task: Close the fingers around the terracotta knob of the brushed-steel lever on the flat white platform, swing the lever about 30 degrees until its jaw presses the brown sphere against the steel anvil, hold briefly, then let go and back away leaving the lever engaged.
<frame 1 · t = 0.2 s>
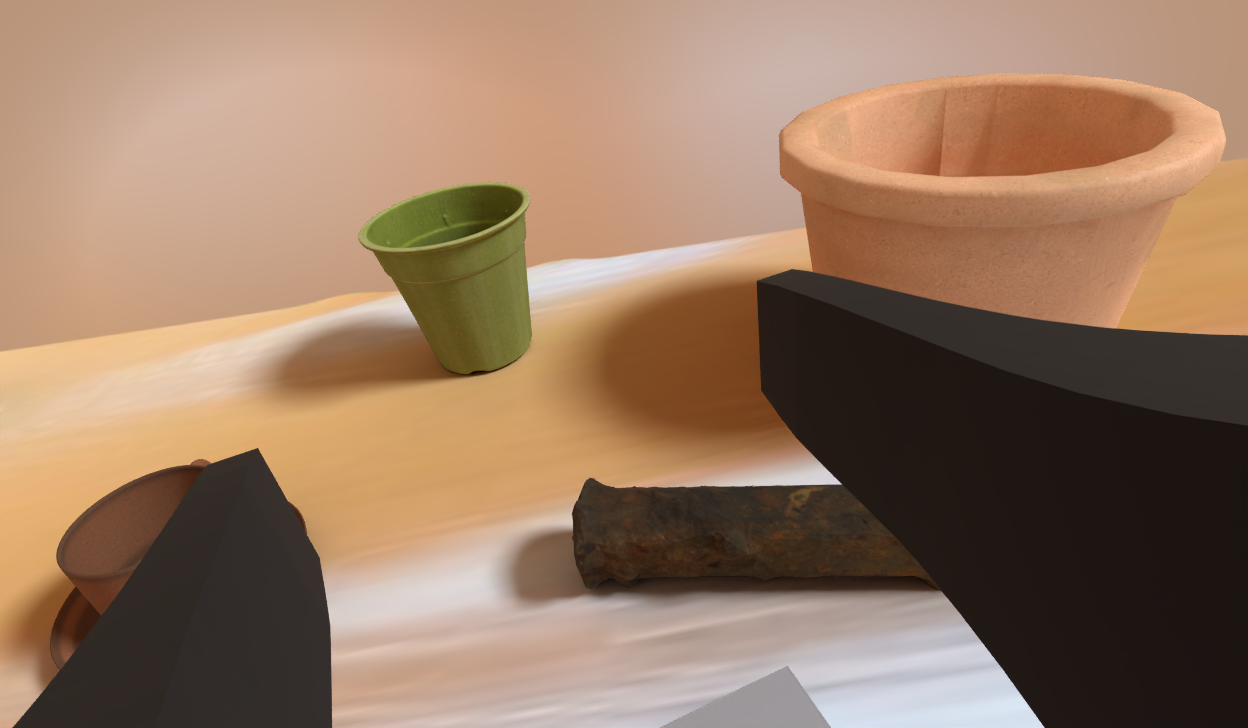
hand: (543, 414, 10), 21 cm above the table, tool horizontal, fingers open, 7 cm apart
pottery: (951, 343, 48), on the table
cup and saucer: (203, 602, 38), on the table
plant pot: (485, 353, 55), on the table
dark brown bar: (819, 559, 34), on the table
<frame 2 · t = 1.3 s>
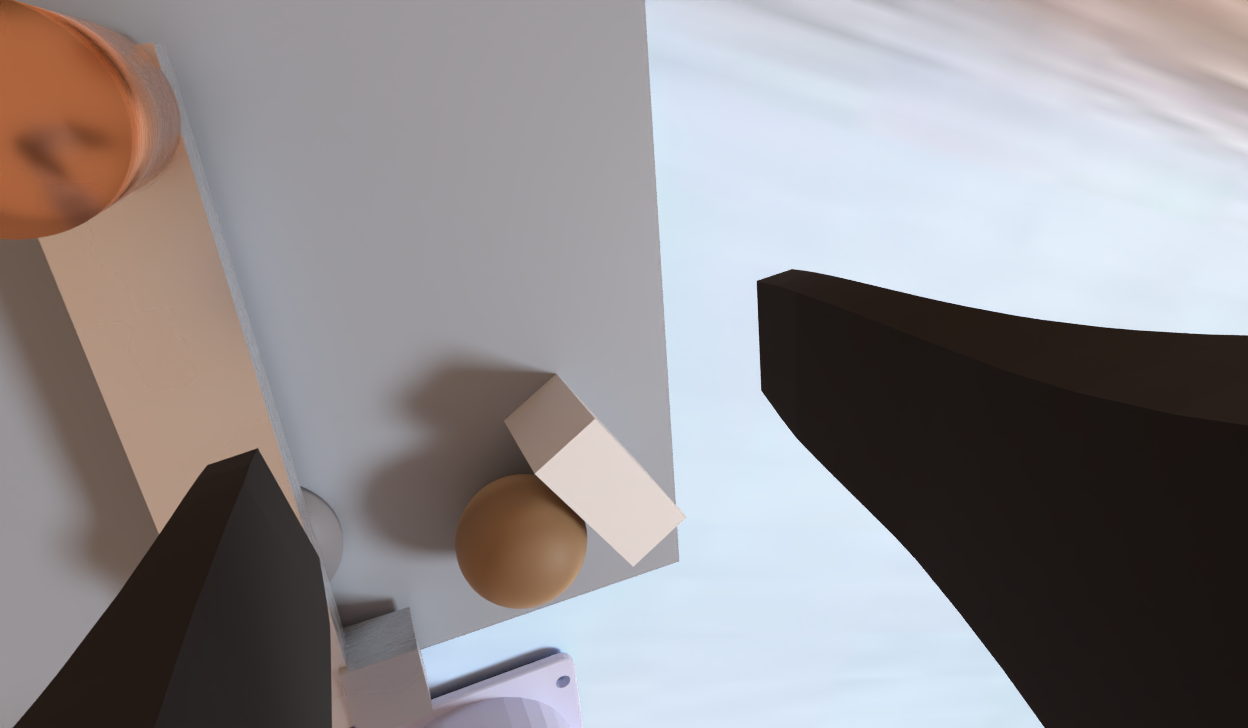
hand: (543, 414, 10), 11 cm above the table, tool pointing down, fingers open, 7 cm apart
brown sphere: (497, 487, 22), resting on flat white platform
lever: (248, 487, 15), point 5 cm above the table, hinge at 0.0°
flat white platform: (263, 523, 20), on the table
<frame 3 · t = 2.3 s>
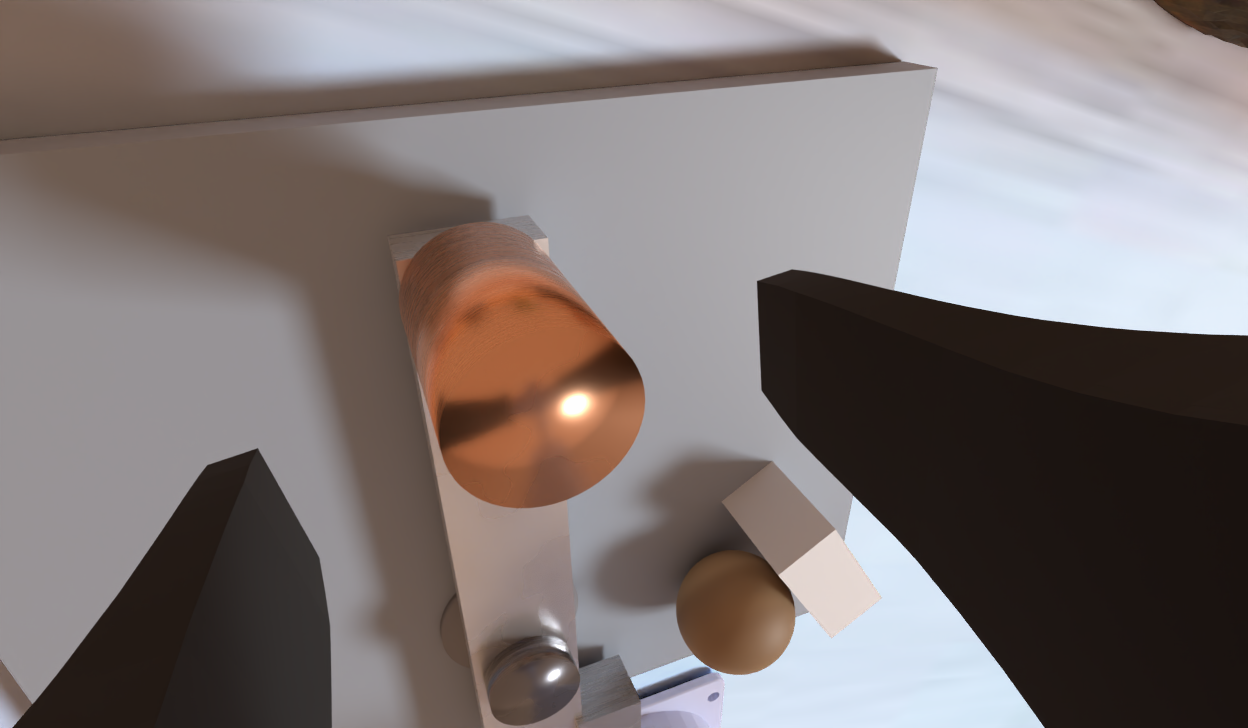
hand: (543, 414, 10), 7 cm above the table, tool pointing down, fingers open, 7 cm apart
brown sphere: (691, 544, 24), resting on flat white platform
lever: (567, 607, 17), point 5 cm above the table, hinge at 0.0°
flat white platform: (500, 583, 22), on the table
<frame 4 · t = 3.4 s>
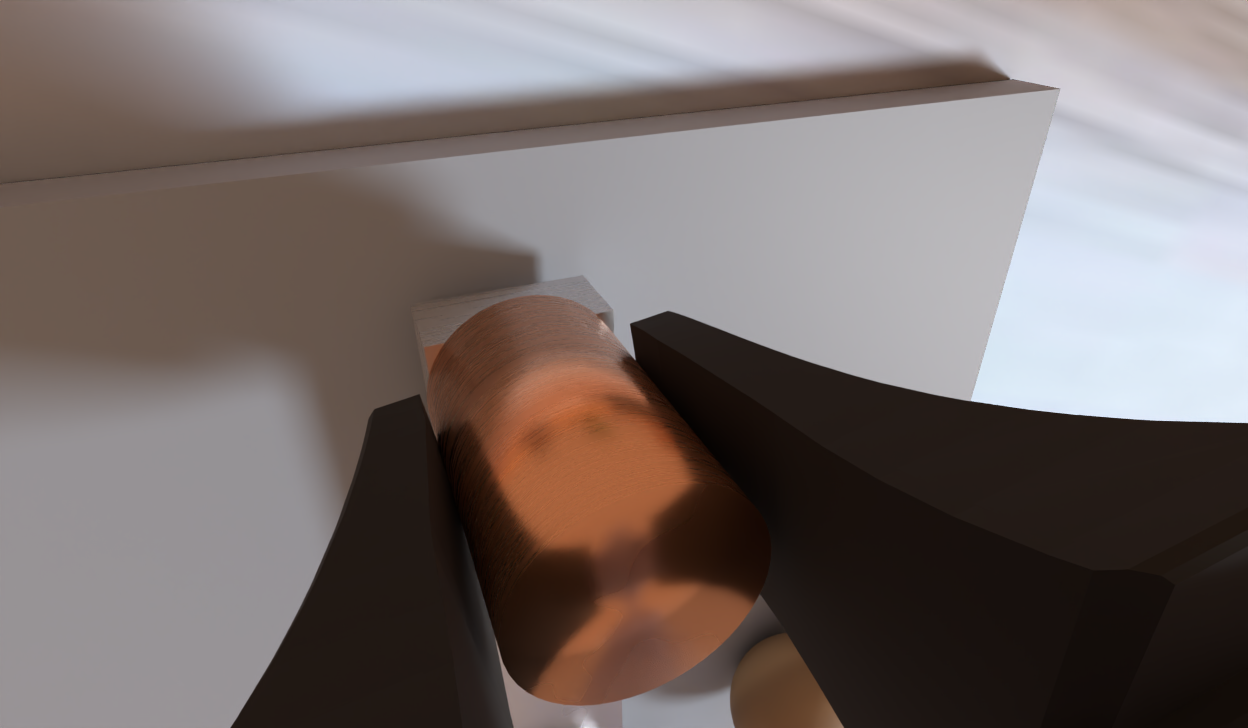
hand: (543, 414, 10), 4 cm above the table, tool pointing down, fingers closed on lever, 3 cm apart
brown sphere: (741, 619, 22), resting on flat white platform
flat white platform: (529, 673, 19), on the table
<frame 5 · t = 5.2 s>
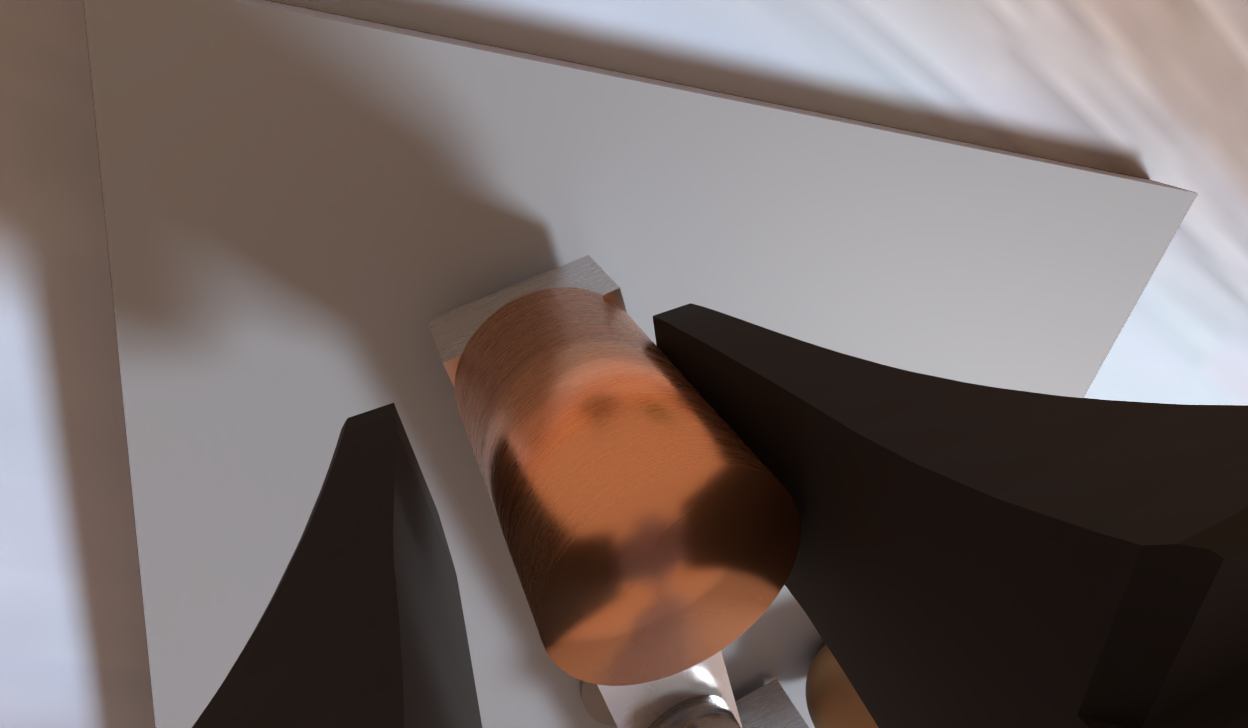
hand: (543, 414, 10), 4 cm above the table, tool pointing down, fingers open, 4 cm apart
brown sphere: (809, 618, 23), resting on flat white platform
lever: (720, 683, 14), point 5 cm above the table, hinge at 27.6°, touching gripper
flat white platform: (633, 628, 20), on the table
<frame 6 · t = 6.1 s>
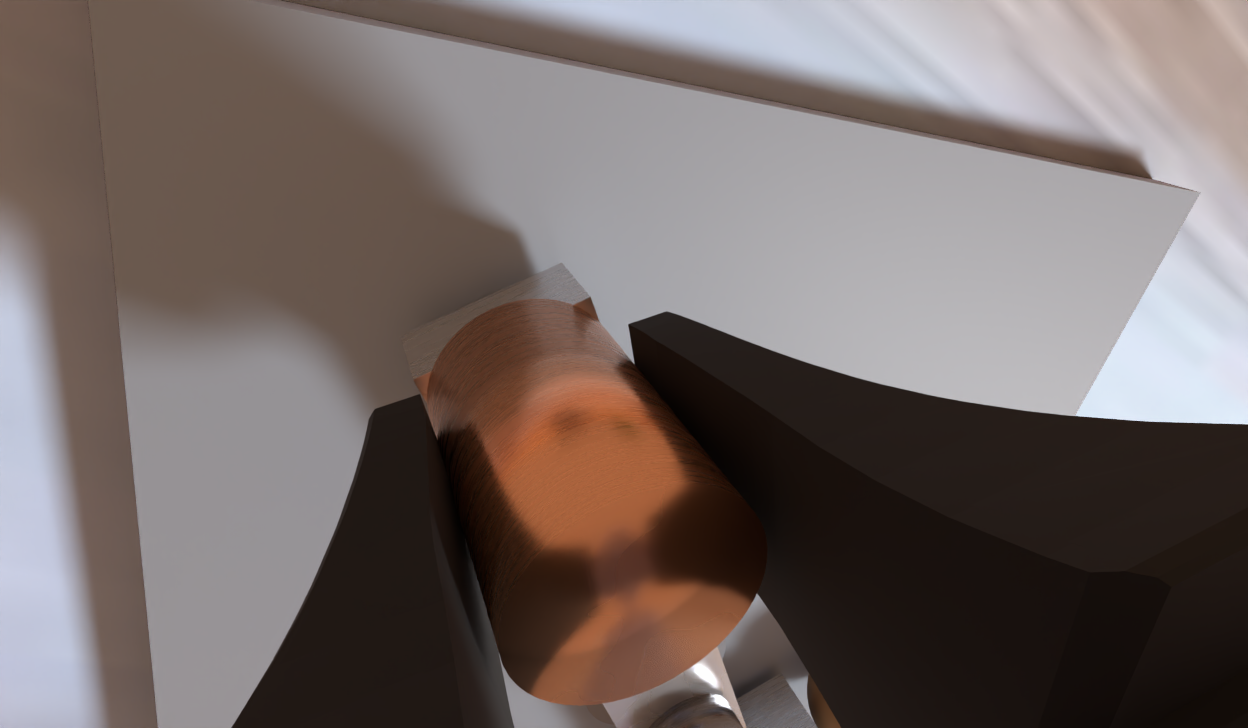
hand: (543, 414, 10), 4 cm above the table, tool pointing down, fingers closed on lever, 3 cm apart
brown sphere: (810, 618, 23), resting on flat white platform
lever: (715, 685, 14), point 5 cm above the table, hinge at 30.1°, touching gripper
flat white platform: (635, 627, 20), on the table
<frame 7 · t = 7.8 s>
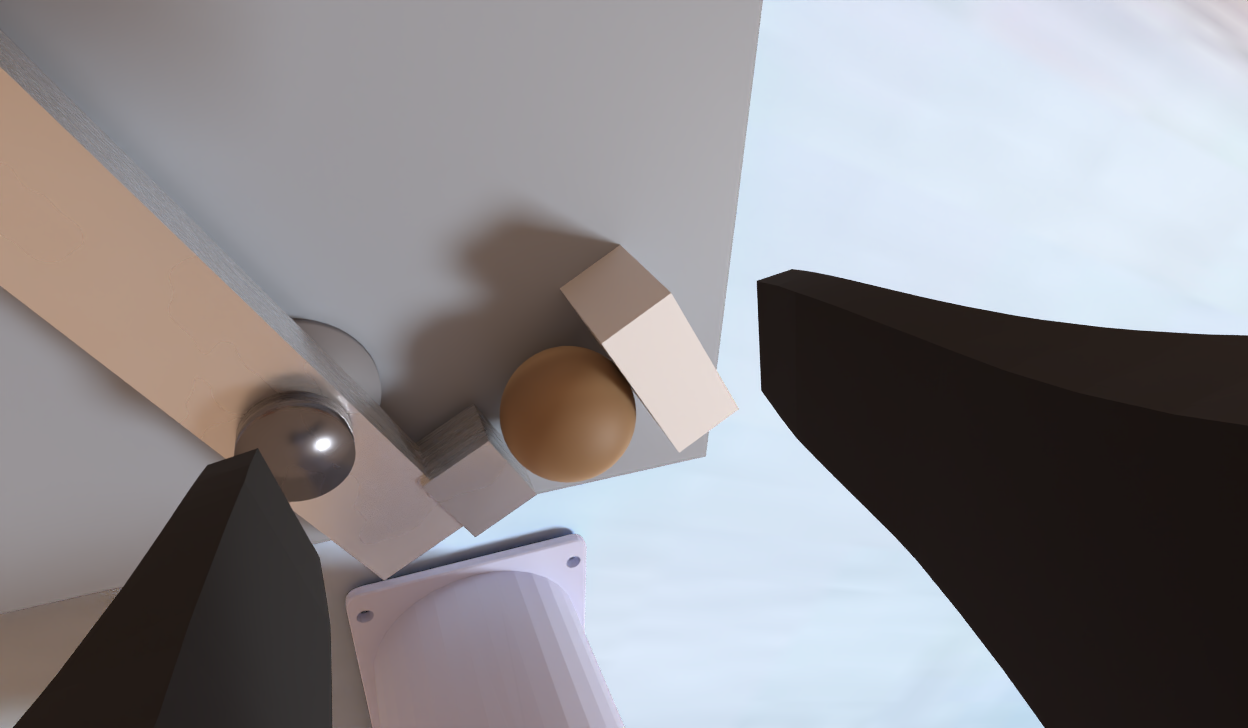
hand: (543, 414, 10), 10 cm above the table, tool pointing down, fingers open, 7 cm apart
brown sphere: (536, 359, 21), resting on flat white platform
lever: (197, 334, 13), point 5 cm above the table, hinge at 30.1°
flat white platform: (294, 367, 19), on the table
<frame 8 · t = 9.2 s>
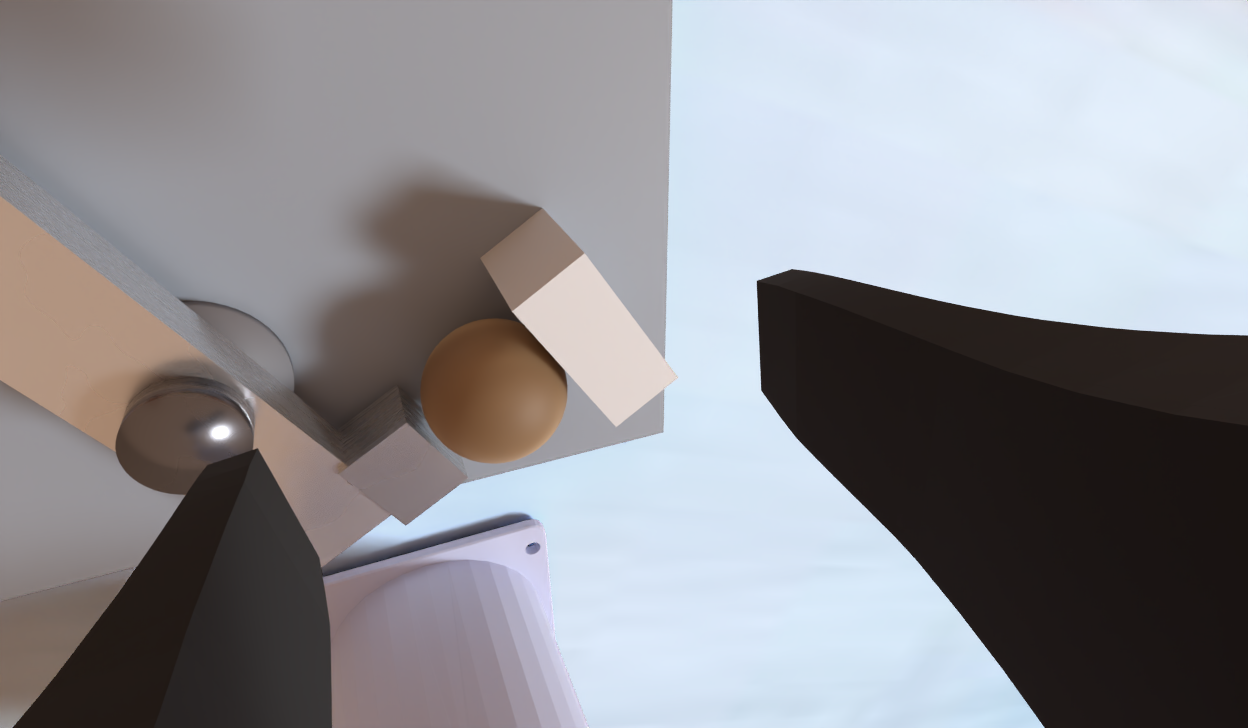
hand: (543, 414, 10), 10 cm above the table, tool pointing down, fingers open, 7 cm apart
brown sphere: (470, 336, 20), resting on flat white platform
lever: (43, 315, 12), point 5 cm above the table, hinge at 30.1°
flat white platform: (204, 355, 18), on the table
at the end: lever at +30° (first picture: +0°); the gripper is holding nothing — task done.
